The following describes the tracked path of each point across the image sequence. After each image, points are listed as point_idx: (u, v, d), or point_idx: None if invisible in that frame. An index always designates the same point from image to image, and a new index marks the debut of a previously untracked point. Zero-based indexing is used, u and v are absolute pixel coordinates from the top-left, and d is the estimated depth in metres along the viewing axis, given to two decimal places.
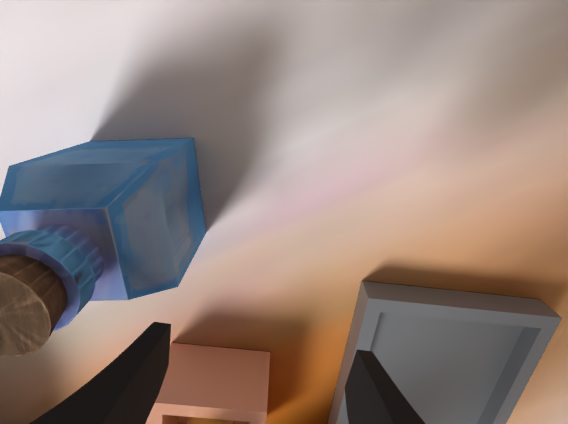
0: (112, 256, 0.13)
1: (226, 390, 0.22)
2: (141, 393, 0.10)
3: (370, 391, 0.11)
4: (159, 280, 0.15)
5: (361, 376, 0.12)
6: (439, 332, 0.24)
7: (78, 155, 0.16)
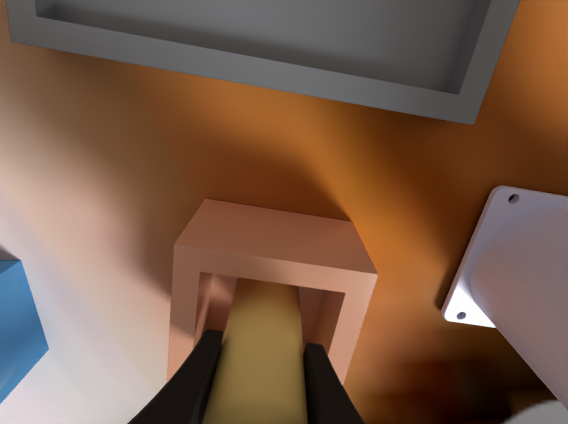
0: None
1: None
2: (204, 400, 0.10)
3: (312, 384, 0.11)
4: None
5: (307, 369, 0.11)
6: None
7: None
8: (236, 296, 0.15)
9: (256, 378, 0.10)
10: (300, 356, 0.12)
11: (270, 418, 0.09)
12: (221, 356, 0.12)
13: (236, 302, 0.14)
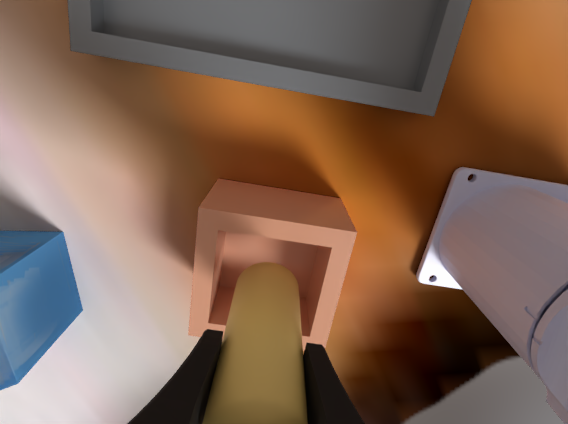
0: None
1: None
2: (204, 400, 0.10)
3: (312, 384, 0.11)
4: None
5: (307, 369, 0.11)
6: None
7: None
8: (236, 296, 0.15)
9: (256, 377, 0.10)
10: (300, 356, 0.12)
11: (270, 418, 0.09)
12: (221, 356, 0.12)
13: (236, 302, 0.14)
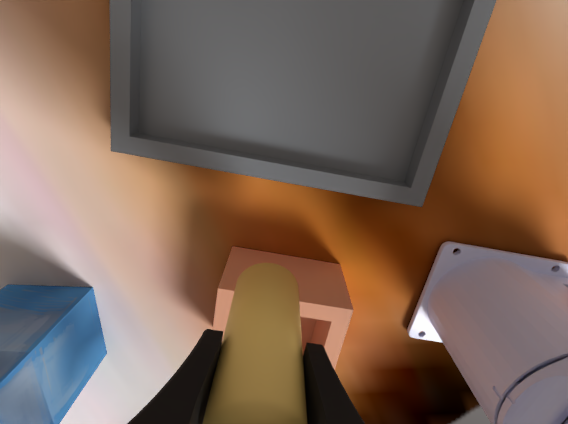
0: None
1: None
2: (204, 400, 0.10)
3: (312, 384, 0.11)
4: (2, 369, 0.18)
5: (307, 369, 0.12)
6: (181, 42, 0.17)
7: None
8: (236, 297, 0.15)
9: (256, 378, 0.10)
10: (300, 357, 0.12)
11: (269, 419, 0.09)
12: (221, 357, 0.12)
13: (236, 303, 0.14)
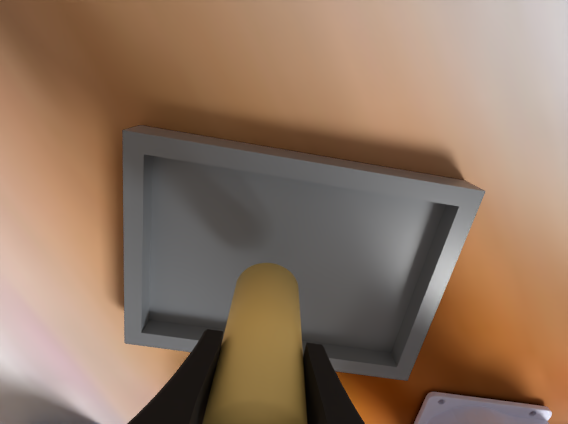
0: None
1: None
2: (204, 400, 0.10)
3: (312, 383, 0.11)
4: None
5: (307, 369, 0.11)
6: (187, 253, 0.19)
7: None
8: (236, 297, 0.15)
9: (256, 379, 0.10)
10: (300, 357, 0.12)
11: (269, 420, 0.09)
12: (221, 357, 0.12)
13: (236, 303, 0.14)
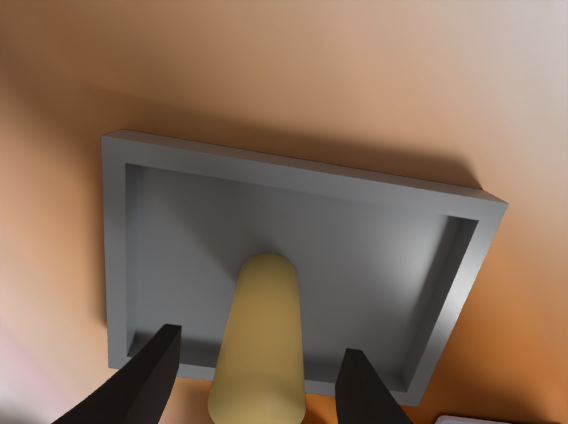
0: None
1: None
2: (154, 395, 0.10)
3: (358, 389, 0.11)
4: None
5: (350, 374, 0.12)
6: (177, 270, 0.18)
7: None
8: (239, 284, 0.16)
9: (258, 353, 0.11)
10: (299, 337, 0.13)
11: (270, 390, 0.10)
12: (225, 336, 0.12)
13: (239, 289, 0.15)
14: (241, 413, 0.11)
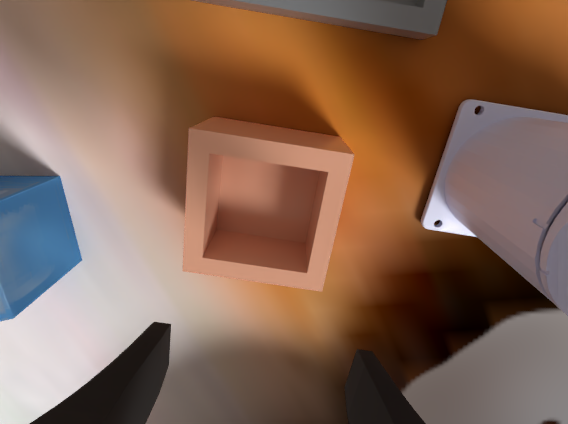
0: None
1: None
2: (141, 393, 0.10)
3: (370, 391, 0.11)
4: None
5: (361, 376, 0.12)
6: None
7: None
8: None
9: None
10: None
11: None
12: None
13: None
14: None
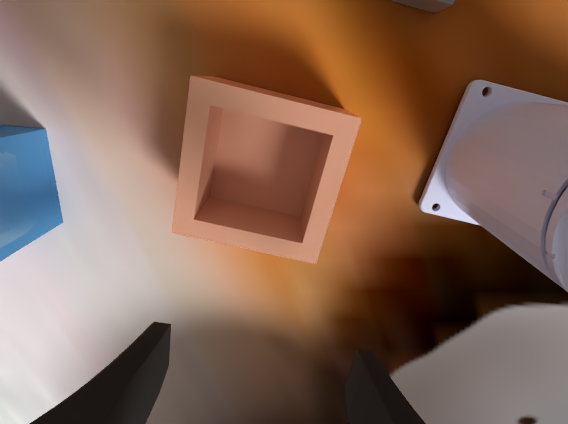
0: None
1: None
2: (141, 393, 0.10)
3: (370, 391, 0.11)
4: None
5: (361, 376, 0.12)
6: None
7: None
8: None
9: None
10: None
11: None
12: None
13: None
14: None
